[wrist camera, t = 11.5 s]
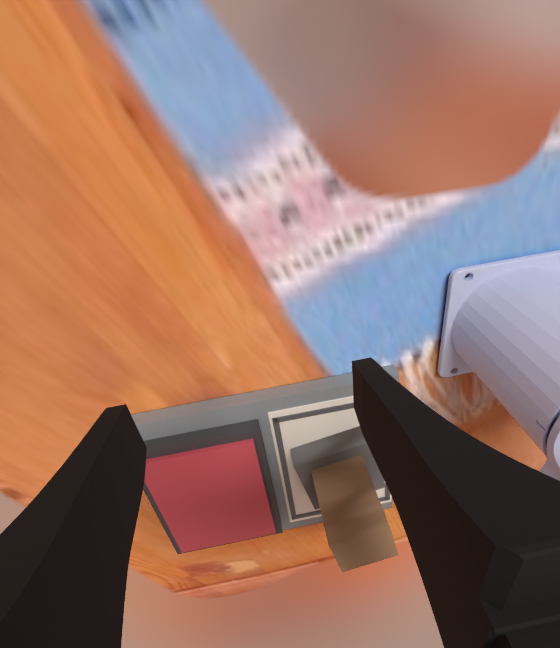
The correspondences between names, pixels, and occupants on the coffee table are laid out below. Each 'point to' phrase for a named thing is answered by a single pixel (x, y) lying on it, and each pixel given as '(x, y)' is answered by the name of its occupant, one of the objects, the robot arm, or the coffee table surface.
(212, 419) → the stamp board
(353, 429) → the stamp
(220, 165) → the coffee table surface
